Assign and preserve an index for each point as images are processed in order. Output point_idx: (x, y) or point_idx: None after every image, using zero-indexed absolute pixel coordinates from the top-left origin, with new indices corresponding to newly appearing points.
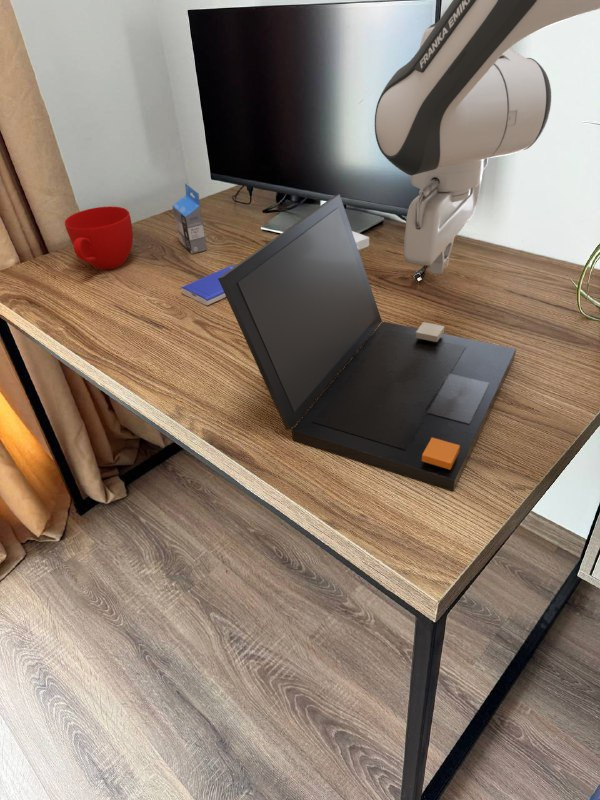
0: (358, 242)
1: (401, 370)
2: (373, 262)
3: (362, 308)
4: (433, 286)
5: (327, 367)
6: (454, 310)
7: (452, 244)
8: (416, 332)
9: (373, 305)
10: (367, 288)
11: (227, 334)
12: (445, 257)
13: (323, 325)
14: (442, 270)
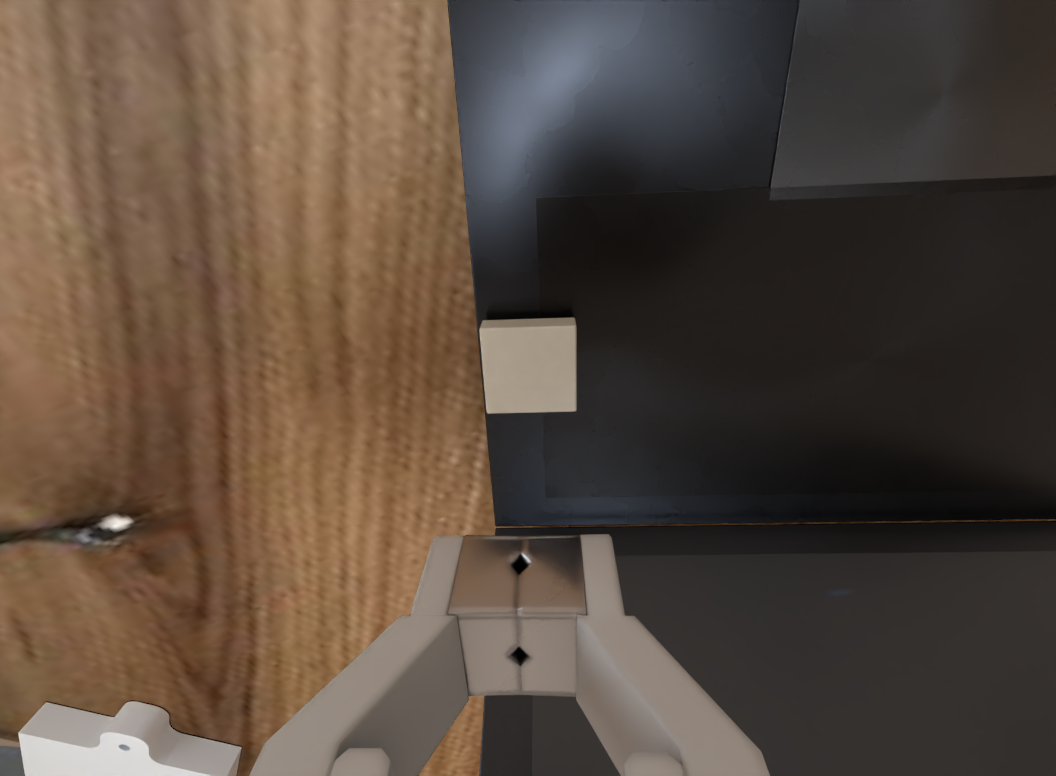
0: (72, 740)
1: (794, 365)
2: (126, 660)
3: None
4: (125, 468)
5: (925, 568)
6: (231, 347)
7: (320, 705)
8: (576, 408)
9: None
10: None
11: None
12: (483, 625)
13: (930, 715)
14: (609, 550)
